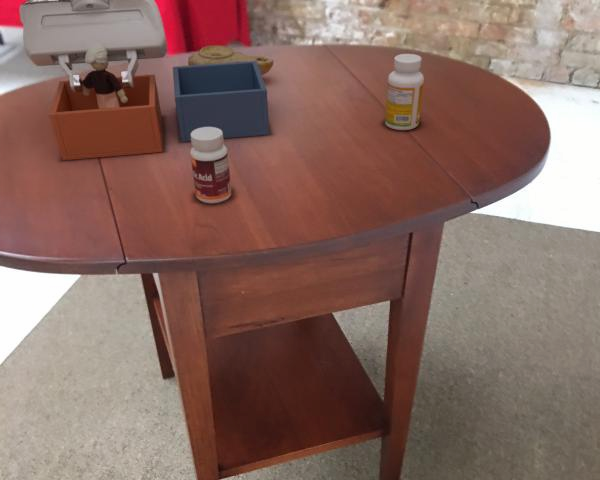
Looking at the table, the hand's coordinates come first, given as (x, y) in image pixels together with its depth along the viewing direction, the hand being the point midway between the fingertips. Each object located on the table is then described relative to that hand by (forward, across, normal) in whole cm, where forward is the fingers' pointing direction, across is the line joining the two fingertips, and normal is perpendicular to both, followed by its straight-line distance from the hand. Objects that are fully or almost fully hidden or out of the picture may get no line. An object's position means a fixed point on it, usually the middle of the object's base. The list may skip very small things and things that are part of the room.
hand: (102, 88), depth 93 cm
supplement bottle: (+8, +45, +3) cm, 46 cm away
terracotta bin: (+5, 0, +6) cm, 8 cm away
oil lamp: (-11, +20, +21) cm, 31 cm away
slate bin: (+3, +17, +8) cm, 19 cm away
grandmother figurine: (+4, 0, +6) cm, 7 cm away
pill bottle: (+21, +14, -10) cm, 27 cm away
